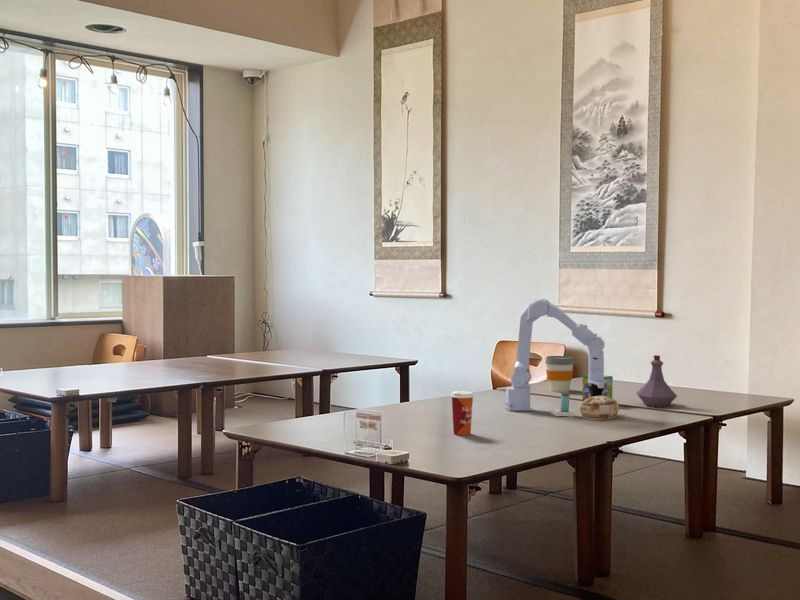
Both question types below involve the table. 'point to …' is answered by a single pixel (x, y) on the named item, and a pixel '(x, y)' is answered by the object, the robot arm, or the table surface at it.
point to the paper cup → (462, 412)
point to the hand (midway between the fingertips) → (595, 404)
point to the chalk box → (606, 391)
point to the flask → (656, 387)
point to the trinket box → (599, 408)
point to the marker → (565, 401)
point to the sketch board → (561, 413)
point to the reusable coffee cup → (559, 372)
